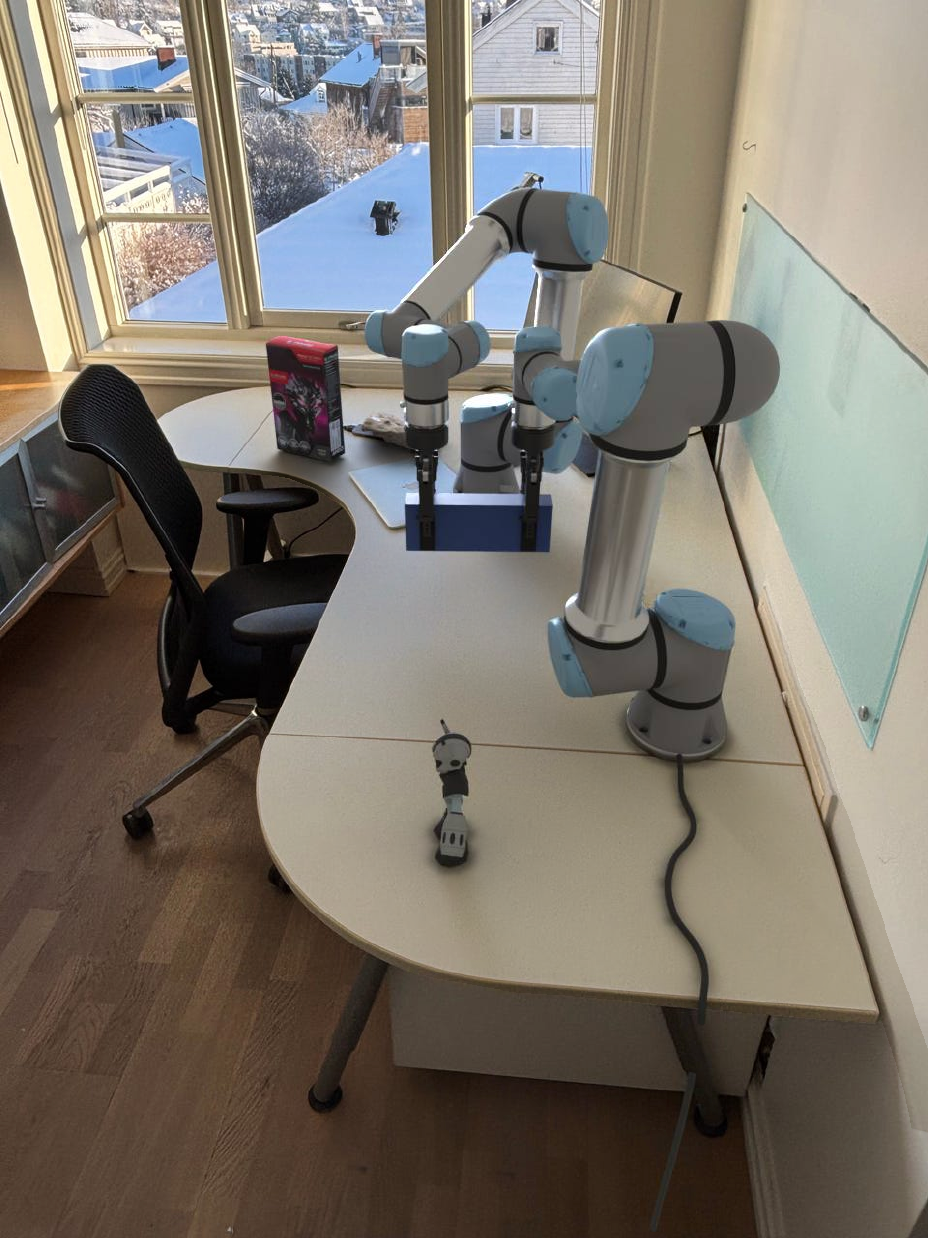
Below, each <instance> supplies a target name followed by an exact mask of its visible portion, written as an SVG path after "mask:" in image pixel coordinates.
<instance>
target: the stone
mask: <svg viewBox="0 0 928 1238" xmlns="http://www.w3.org/2000/svg"><path fill="white" fill-rule="evenodd" d="M405 422H406V421H405V420H400V419H399V417H397V416H396V417H395V416H394V415H393V414H388V413H384V412H379V413H377V414H369V415H368V416H366V419H365V420H364V421H363V423H362V425H361V427H360V430H361V432H363V433H365V432H371V433H373V435H374V436H376V437H378V438H382V439H383V441H384V442H385V443H388V444H392V443H394V444H395V445H398V446H400V447H404V448H406V449H410V450H413V449H412V448H410V447H409V446H407V445H406V443H405V438H404V423H405Z"/></svg>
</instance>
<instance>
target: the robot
mask: <svg viewBox="0 0 928 1238" xmlns="http://www.w3.org/2000/svg"><path fill="white" fill-rule="evenodd" d="M439 722H440V725H441V727H442V730H443V733H444V734H442V735H441V736H439V737H438V738H437V739H436V740H435V741H434V742H433V745H432V747H431V752H432V757H433V758H434V761H435V771H436V772H437V773H439V774H438V776H439V779H440V781H441V783H442V785H441V792H442V794H441V795H442V799H443V801H444V802H445V805H446V807H445V808H444V812H443V813H442V816H441V819H440V820H439V821H438V823H437V824H435V826H434V828H433V833H434V834H435V836H436V838H437V839H438V840H439V841H440V842H439V845H438V848H437V849H436V852H435V855H434V859H435V860H436V861H437V862H438V863H439V865H441V866H443V867H447V868H453V867H457V866H459V865H461V864H463V863H466V862H467V859H468V856H469V854H470V853H469V844H468V840H467V837H468V823H467V818H466V815H464V813H463V810H462V806H463V804H464V798H463V797H469V795H470V794H469V793H470V788H469V787H470V786H469V779H468V776H467V774H466V766H467V765H468V762H467V760H468V759H469V758H470V757H471V755H472V749H473V748H472V743H471V741H470V739H468V738H467V736H465V735H464V734H462V733H460V732H457V731H450V729H449V727H448V725H447V723H446V722H445V720H444V719H443V718H441V719H440V720H439Z"/></svg>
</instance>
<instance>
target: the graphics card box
mask: <svg viewBox="0 0 928 1238" xmlns="http://www.w3.org/2000/svg"><path fill="white" fill-rule="evenodd" d="M265 351H266V359H267V368H268V379H269V385H270V395H271V403H272V405H271V406H272V413H273V422H274V430H275V440H276V441H275V442H276V450H280V451H284V452H288V453H291V454H296V455H301V456H305V457H310V458H312V459H313V458H314V459H317V460H322V461H327V462H334V460H336V459H338V458H340V457H341V456H343V455H345V454H346V444H345V442H346V441H345V428H344V415H343V401H342V388H341V373H340V357H339V346H338V344H331V343H324V342H319V341H314V340H309V339H304V338H298V337H293V336H287V335H278V336H275V337H273V338H271V339H270V340H268V341H267V342H265Z"/></svg>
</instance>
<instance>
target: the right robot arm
mask: <svg viewBox="0 0 928 1238" xmlns="http://www.w3.org/2000/svg"><path fill="white" fill-rule="evenodd" d="M561 350H562V347H561V335H560V333H559V332H558V331H557V330H555V329H553V328H549V327H541V326H535V327H534V326H527V327H523V328H521V329H519V330H518V331H517V332H516V334H515V337H514V346H513V350H512V354H513V371H512V373H513V374H512V376H513V377H512V397H513V403H509V405H508V407H509V408H510V409H512V420H513V422H512V424H511V443H512V445H513V446H514V447H516V448H518V449H520V450H523V451H520V461H521V466H520V467H519V468H520V473H521V478H520V479H521V480H520V481H521V482H520V489H519V494H524V506H523V516H519V521H522V527H521V548H520V550H521V551H536V536H537V522H538V520H539V517H538V515H539V498H540V494H541V483H542V481H543V472H542V468H543V466H544V457H543V450H547V449H549V448H551V447H552V446H553V445H554V442H555V429H556V425H555V424H554V423H555V422H556V420H558V421H563V420H568V419H570V418H572V417H576V416H577V418H578V421H579V422H578V423H580V424H581V426H582V430H584V431H585V432H586V433H588V439H589V441H590V444H592V446H593V447H594V448H595V449H596V450H597V452H598V454H597V459H596V460H597V461H596V466H595V472H594V473H595V474H594V480H593V489H592V494H591V502H590V508H589V516H588V523H587V530H586V537H585V544H584V549H583V556H582V557H583V558H582V563H581V564H582V565H581V571H580V579H579V586H578V592H576V593H574V594H573V595H572V596H570V598H569V599H568V600H567V602H566V604H565V608H564V614H563V617H560V616H556V617H555V618H551V620H549V621H548V623H547V630H546V633H547V634H546V635H547V645H548V651H549V656H550V661H551V665H552V668H553V669H552V670H553V673H554V675H555V678H556V682H557V683H558V686H559V688H560V689H561V691H562V692H563V694H565V695H566V696H568V697H570V698H573V699H574V698H575V699H576V698H590V699H592V698H595V697H601V696H609V695H616V694H624V693H625V694H626V693H630V692H636V694H635V695H634V697H632V698H631V700H630V704H629V706H628V708H627V711H626V719H625V728H626V732H627V734H628V736H629V738H630V739H631V741H632V742H634V744H636V745H637V746H638V747H639V748H640V749H641V750H643V751H645V752H646V753H648V754H650V755H651V756H654V757H656V758H659V759H662V760H666V761H670V762H675V763H676V768H677V769H676V770H677V791H678V795H679V799H680V801H681V804H682V806H683V808H684V810H685V811H686V814H687V816H688V818H689V823H690V827H689V832H688V834H687V836H686V838H685V839H684V840H683V841H682V843H681V844H680V845H679V846H677V848H676V849H675V850H674V852H673V853H672V855H670V857H669V860H668V863H667V868H666V870H665V876H664V896H665V903H666V906H667V910H668V912H669V915H670V917H671V919H672V921H673V922H674V924H675V925H676V927H677V928H678V930H679V931H680V932H681V933H682V935H683V936H684V937H685V938H686V940H687V941H688V942H689V944H690V946H691V947H692V949H693V950H694V952H695V954H696V957H697V959H698V960H697V961H698V963H699V967H700V988H699V996H698V1004H697V1018H696V1021H697V1024H698V1025H699V1026H702V1027H703V1026H704V1025H705V1023H706V1013H707V1012H706V1011H707V1002H708V994H709V983H710V980H709V979H710V976H709V967H708V962H707V958H706V955H705V953H704V951H703V948H702V946H701V945H700V943H699V941H698V940H697V939H696V937H695V936H694V935H693V933H692V932H691V931H690V929H689V928H688V927H687V926H686V924H685V923H684V922H683V920H682V919H681V917H680V916H679V913H678V912H677V909H676V906H675V903H674V898H673V893H672V880H673V875H674V870H675V866H676V863H677V861H678V859H679V858H680V856H681V855H682V854H683V853H684V852H685V850H687V848H688V847H689V846H690V845H691V844H692V842H693V841H694V840H695V837H696V834H697V829H698V828H697V826H698V824H697V823H698V822H697V818H696V815H695V812H694V810H693V807H692V806H691V804H690V802H689V800H688V798H687V794H686V791H685V786H684V782H685V781H684V780H685V779H684V763H694V762H700V761H703V760H706V759H709V758H711V757H714V755H716V754H718V752H720V751H721V750H722V748H723V747H724V744H725V743H726V740H727V739H726V738H727V734H728V721H727V716H726V712H725V708H724V707H725V706H724V701H723V692H724V686H725V682H726V678H727V672H728V668H729V664H730V659H731V654H732V651H733V650H732V649H733V648H734V646H735V635H736V618H735V616H734V614H733V612H732V611H731V609H730V608H729V607H728V606H727V605H726V604H725V603H723V602H722V601H721V600H719V599H717V598H715V596H712V595H709V594H707V593H704V592H702V591H699V590H694V589H689V588H670V589H667V590H666V589H665V590H663V591H662V592H661V593H660V594H658V595H657V597H656V599H654V602H653V607H650V608H649V607H648V608H647V607H646V606H645V604H644V603H643V602H642V601H643V597H644V592H645V587H646V581H647V577H648V572H649V567H650V562H651V558H652V557H651V556H652V551H653V547H654V542H655V536H656V532H657V527H658V523H659V517H660V514H661V513H660V512H661V508H662V502H663V497H664V493H665V488H666V483H667V476H668V472H669V467H670V462H671V461H672V460H675V459H676V458H678V457H679V456H681V455H682V454H683V453H684V451H685V450H686V447H687V444H688V439H689V434H690V431H691V429H692V428H696V427H706V426H717V425H718V426H719V425H725V424H729V423H734V422H738V421H740V420H743V419H746V418H747V417H750V416H751V415H753V414H754V413H756V412H758V411H759V410H760V409H762V407H763V406H765V405H766V404H767V403H768V402H769V400H771V397H773V395H774V393H775V391H776V389H777V386H778V383H779V380H780V377H781V375H780V374H781V363H780V358H779V357H780V356H779V354H778V350H777V348H776V346H775V345H774V343H773V342H772V340H771V339H770V338H769V337H768V336H767V335H766V334H765V333H764V332H762V331H761V330H760V329H758V328H756V327H755V326H752V325H750V324H748V323H745V322H741V321H737V320H726V319H718V320H716V319H715V320H706V321H686V322H665V323H646V324H645V323H642V322H633V323H629V324H627V325H621V326H611V327H606V328H603V329H602V330H600V331H599V332H598V333H596V334H595V336H593V337H592V338H591V339H590V341H589V342H588V344H587V345H586V348H585V349H584V351H583V354H582V356H581V359H573V360H570V361H564V360H563V359H562V357H561ZM697 1074H698V1073H697V1072H692V1071H688V1076H687V1080H686V1085H685V1090H684V1095H683V1099H682V1103H681V1107H680V1112H679V1116H678V1121H677V1124H676V1128H675V1133H674V1136H673V1140H672V1144H671V1147H670V1150H669V1151H670V1152H669V1155H668V1159H667V1162H666V1166H665V1169H664V1172H663V1173H664V1174H663V1176H662V1181H661V1184H660V1188H659V1192H658V1195H657V1198H656V1203H655V1207H654V1211H653V1214H652V1218H651V1222H650V1226H649V1229H650V1231H651V1232H656V1231H657V1227H658V1225H659V1221H660V1217H661V1214H662V1213H661V1212H662V1209H663V1205H664V1201H665V1198H666V1194H667V1191H668V1187H669V1183H670V1180H671V1177H672V1173H673V1170H674V1166H675V1162H676V1159H677V1156H678V1152H679V1148H680V1146H681V1145H680V1144H681V1140H682V1136H683V1133H684V1131H685V1130H684V1129H685V1125H686V1122H687V1118H688V1113H689V1110H690V1105H691V1101H692V1096H693V1092H694V1088H695V1083H696V1079H697Z"/></svg>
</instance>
